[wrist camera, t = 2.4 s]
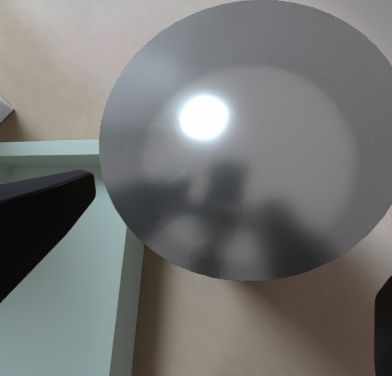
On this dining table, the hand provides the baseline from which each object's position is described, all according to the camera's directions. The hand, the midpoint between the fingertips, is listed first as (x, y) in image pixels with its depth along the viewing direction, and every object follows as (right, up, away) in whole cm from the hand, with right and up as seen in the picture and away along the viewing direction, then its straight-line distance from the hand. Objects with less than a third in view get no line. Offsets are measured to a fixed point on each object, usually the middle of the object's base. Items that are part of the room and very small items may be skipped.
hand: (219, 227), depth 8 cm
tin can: (+2, 0, +9) cm, 10 cm away
